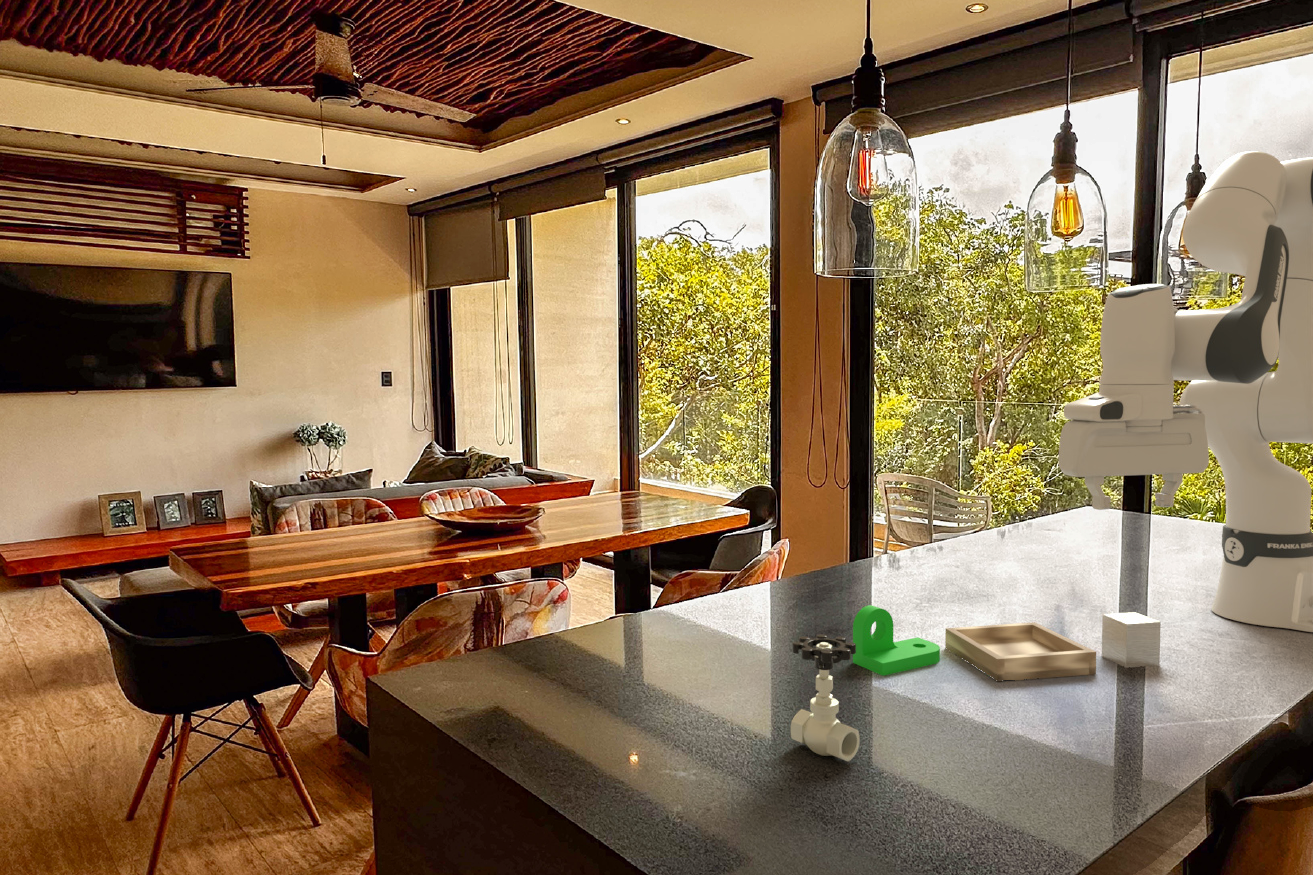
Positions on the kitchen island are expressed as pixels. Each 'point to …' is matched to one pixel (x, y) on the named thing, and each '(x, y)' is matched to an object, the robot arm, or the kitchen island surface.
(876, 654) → the mechanical part
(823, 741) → the valve
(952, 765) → the kitchen island surface
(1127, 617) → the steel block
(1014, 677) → the tray
